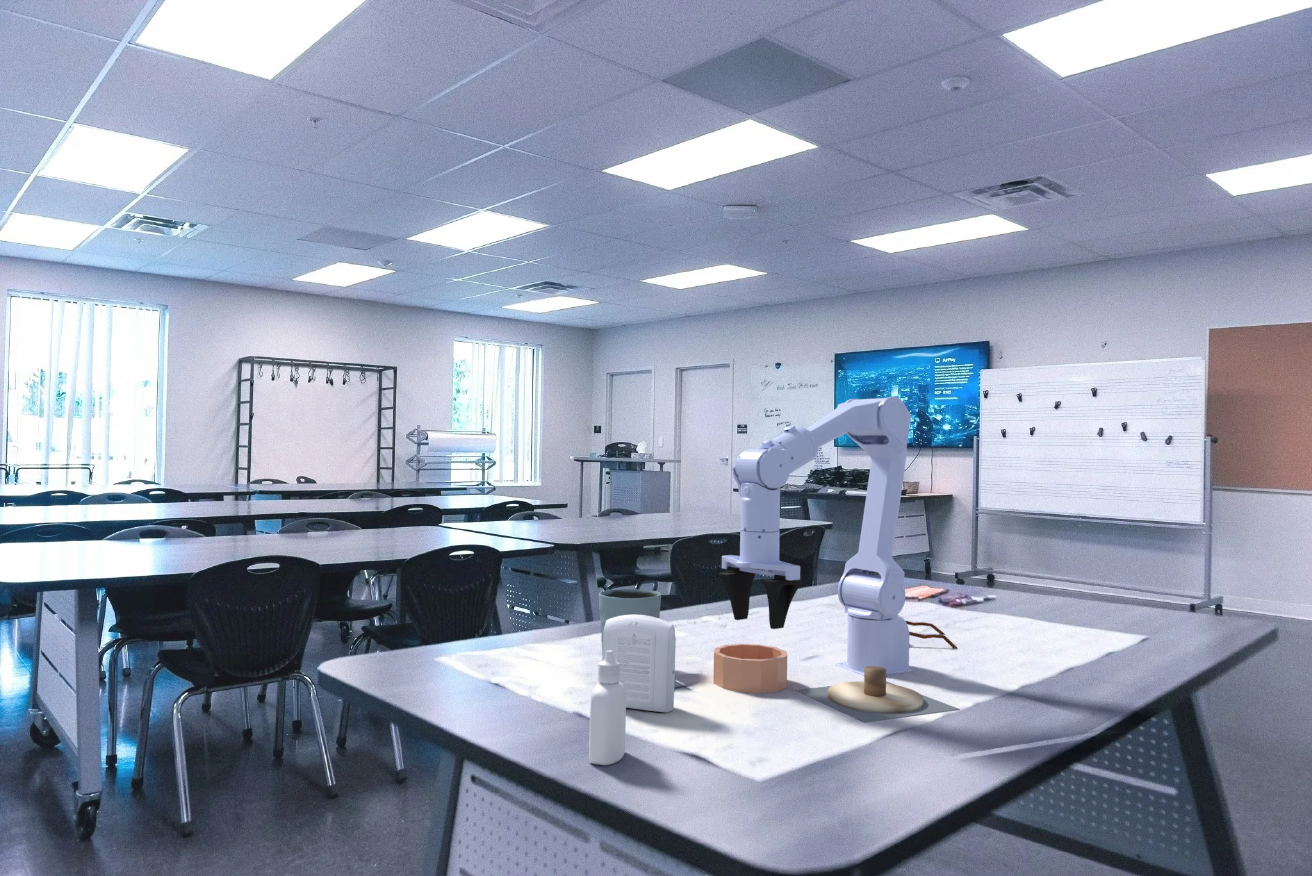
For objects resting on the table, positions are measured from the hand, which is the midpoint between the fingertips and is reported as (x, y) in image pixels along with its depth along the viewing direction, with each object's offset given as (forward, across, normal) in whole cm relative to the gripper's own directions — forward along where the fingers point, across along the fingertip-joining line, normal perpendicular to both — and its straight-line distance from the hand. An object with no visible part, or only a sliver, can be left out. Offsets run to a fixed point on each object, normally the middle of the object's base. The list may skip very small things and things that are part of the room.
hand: (758, 623), depth 127 cm
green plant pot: (+10, -21, -8) cm, 25 cm away
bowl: (+10, -3, +1) cm, 10 cm away
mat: (+10, +14, +10) cm, 19 cm away
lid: (+9, +14, +10) cm, 19 cm away
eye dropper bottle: (+10, +11, -34) cm, 37 cm away
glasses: (+11, -10, +51) cm, 53 cm away
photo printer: (+10, -3, -19) cm, 22 cm away
